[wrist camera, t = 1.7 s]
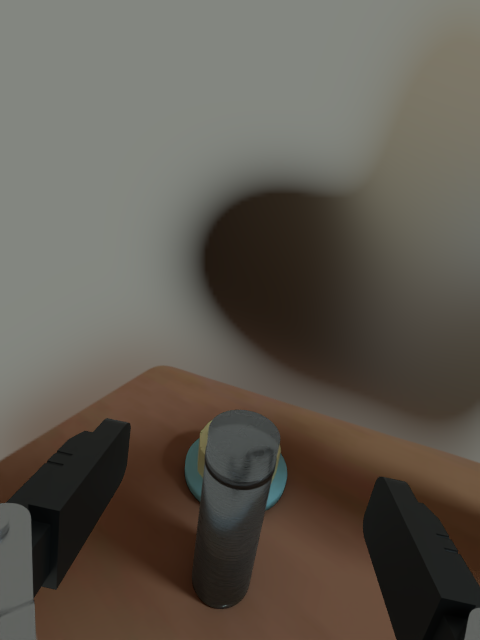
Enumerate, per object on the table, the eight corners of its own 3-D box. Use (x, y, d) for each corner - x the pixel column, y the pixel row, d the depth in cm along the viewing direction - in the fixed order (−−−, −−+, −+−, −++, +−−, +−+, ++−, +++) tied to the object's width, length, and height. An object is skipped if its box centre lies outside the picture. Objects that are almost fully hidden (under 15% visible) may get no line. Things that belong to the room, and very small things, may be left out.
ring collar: (245, 425, 43) (249, 399, 42) (306, 486, 35) (314, 457, 34) (167, 454, 37) (169, 425, 35) (220, 537, 29) (225, 504, 27)
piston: (229, 534, 29) (251, 402, 24) (262, 585, 26) (296, 443, 21) (180, 563, 26) (194, 421, 21) (211, 624, 23) (235, 472, 18)
